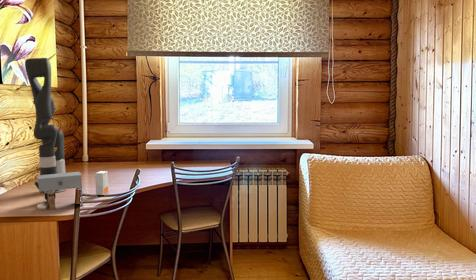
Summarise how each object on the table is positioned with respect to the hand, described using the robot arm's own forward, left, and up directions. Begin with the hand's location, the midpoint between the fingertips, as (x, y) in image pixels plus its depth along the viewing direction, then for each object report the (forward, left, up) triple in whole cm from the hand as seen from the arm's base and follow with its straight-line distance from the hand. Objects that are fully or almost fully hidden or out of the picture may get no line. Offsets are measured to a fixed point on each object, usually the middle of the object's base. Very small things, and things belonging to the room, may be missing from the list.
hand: (50, 199), depth 211 cm
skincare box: (-4, +25, -1) cm, 26 cm away
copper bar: (+6, 0, -1) cm, 6 cm away
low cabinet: (+11, +4, -1) cm, 12 cm away
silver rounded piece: (+11, -3, -1) cm, 12 cm away
